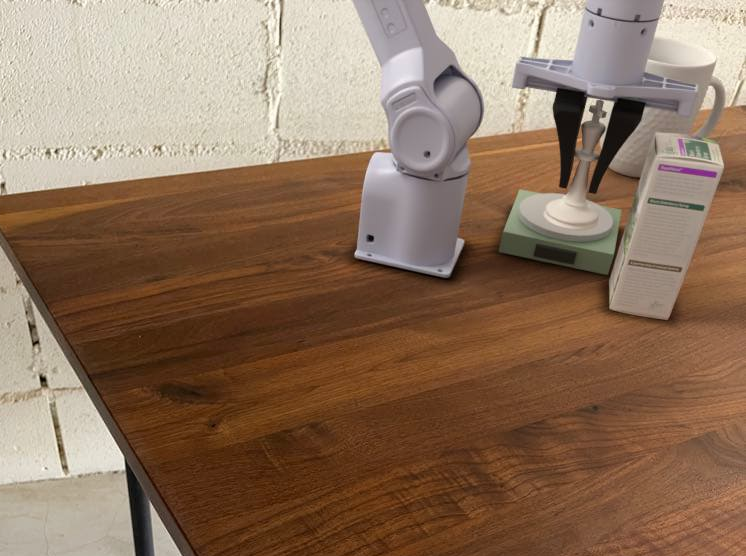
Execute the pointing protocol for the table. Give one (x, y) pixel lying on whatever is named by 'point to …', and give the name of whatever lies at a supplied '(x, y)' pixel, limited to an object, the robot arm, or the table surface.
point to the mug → (676, 64)
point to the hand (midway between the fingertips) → (578, 186)
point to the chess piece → (580, 180)
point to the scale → (559, 235)
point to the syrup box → (664, 224)
